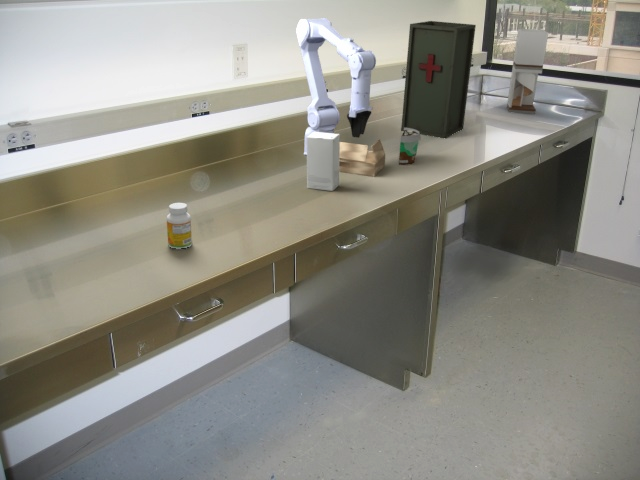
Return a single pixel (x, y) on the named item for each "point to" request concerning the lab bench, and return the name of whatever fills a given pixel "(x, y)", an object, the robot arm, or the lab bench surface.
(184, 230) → the supplement bottle
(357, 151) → the flap
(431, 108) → the first aid box
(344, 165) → the carton
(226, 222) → the lab bench surface
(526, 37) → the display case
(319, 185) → the skincare box
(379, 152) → the flap
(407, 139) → the food container
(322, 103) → the robot arm
